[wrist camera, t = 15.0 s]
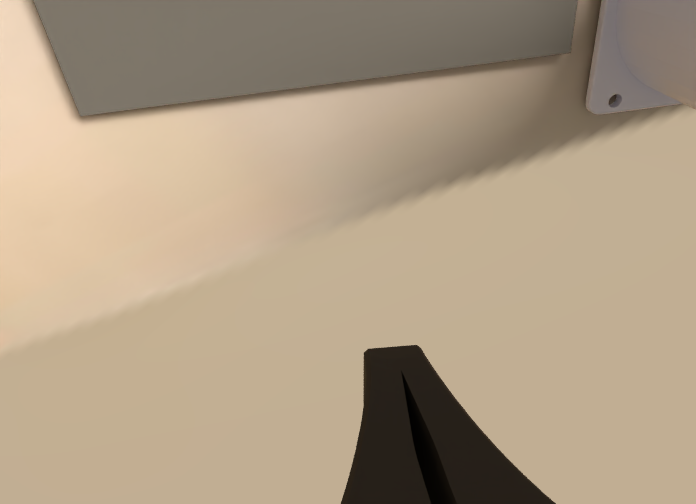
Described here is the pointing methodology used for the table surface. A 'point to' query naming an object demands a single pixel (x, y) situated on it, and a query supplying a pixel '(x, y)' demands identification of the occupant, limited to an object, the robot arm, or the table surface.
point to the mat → (281, 43)
